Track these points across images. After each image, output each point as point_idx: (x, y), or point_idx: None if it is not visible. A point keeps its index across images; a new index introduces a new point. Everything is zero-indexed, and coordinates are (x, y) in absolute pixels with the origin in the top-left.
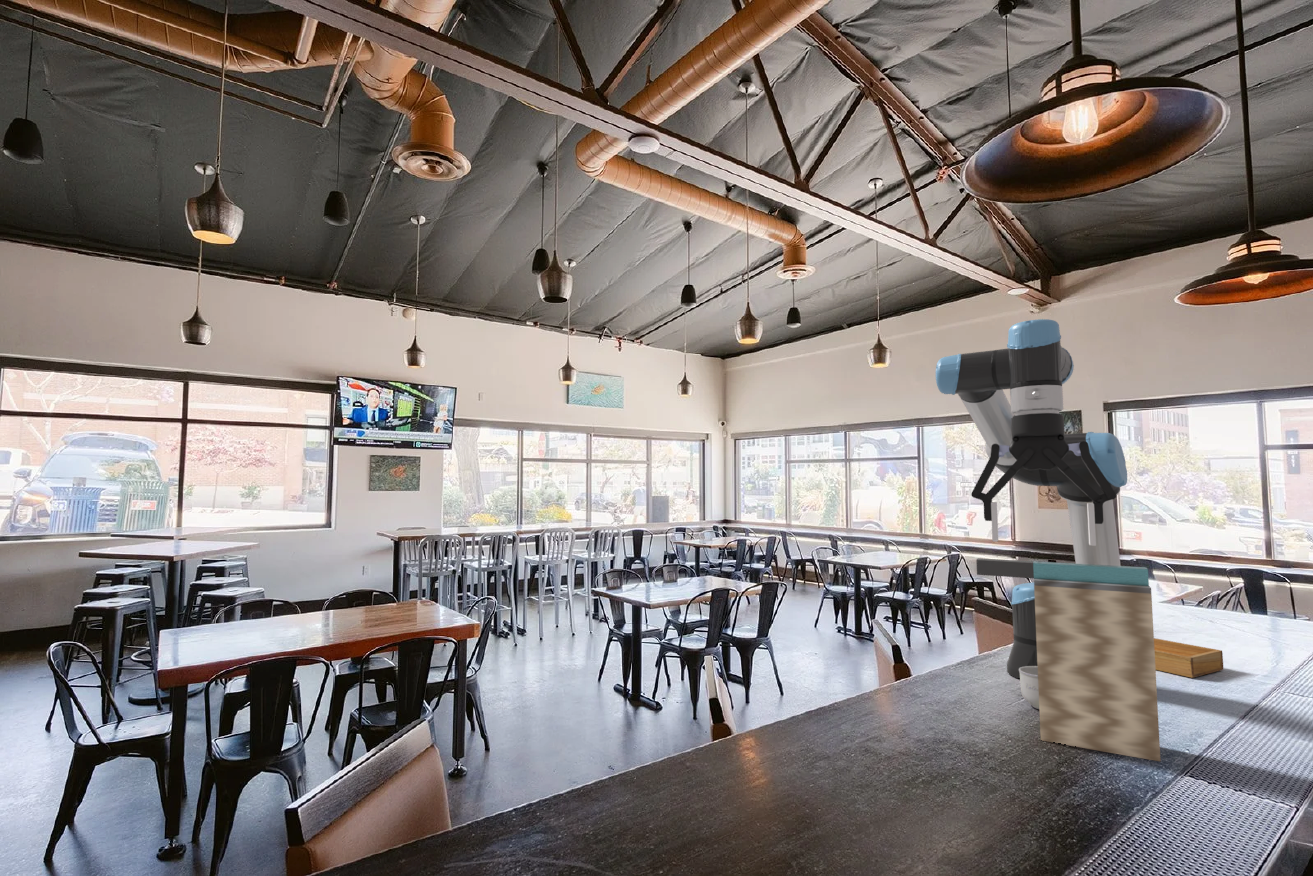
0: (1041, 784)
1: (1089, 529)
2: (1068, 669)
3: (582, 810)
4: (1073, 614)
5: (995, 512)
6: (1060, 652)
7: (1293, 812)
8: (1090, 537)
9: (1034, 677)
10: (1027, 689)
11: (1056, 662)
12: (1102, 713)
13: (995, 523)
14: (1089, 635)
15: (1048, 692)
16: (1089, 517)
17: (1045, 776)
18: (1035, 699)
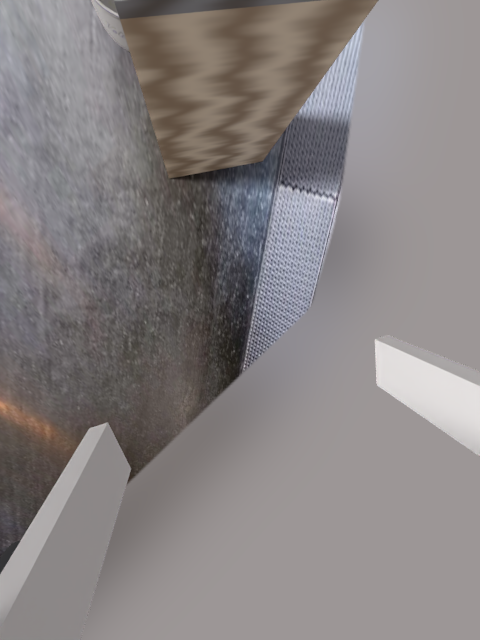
0: (199, 286)
1: (421, 414)
2: (197, 135)
3: (5, 530)
4: (212, 69)
5: (75, 638)
6: (187, 123)
7: (334, 210)
8: (398, 398)
9: (117, 18)
10: (111, 30)
11: (182, 133)
12: (226, 153)
13: (101, 551)
14: (232, 95)
15: (173, 155)
16: (475, 451)
17: (197, 268)
18: (127, 48)
